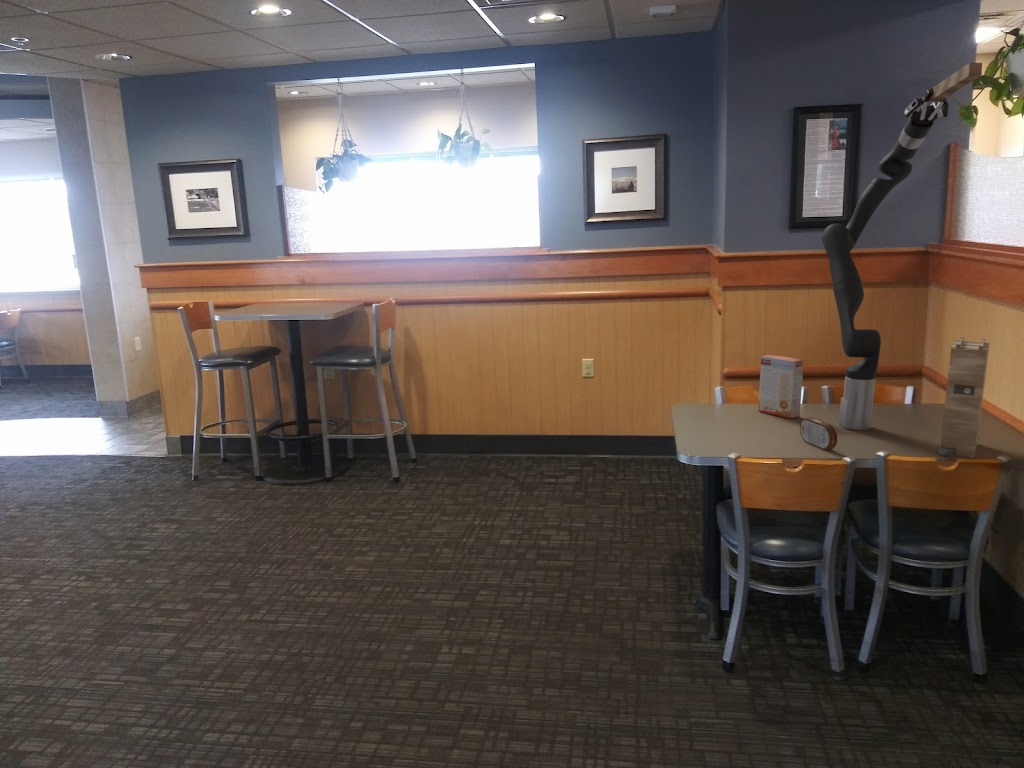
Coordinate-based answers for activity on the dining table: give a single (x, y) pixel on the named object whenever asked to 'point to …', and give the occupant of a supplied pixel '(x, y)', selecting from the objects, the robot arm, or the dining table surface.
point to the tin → (818, 433)
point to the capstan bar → (956, 81)
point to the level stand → (964, 398)
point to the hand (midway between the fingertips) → (938, 89)
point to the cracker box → (780, 386)
